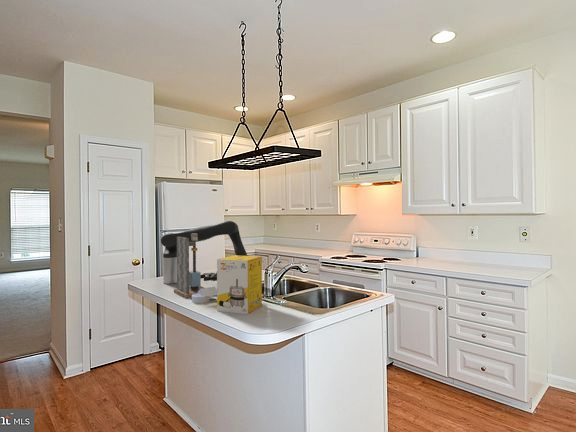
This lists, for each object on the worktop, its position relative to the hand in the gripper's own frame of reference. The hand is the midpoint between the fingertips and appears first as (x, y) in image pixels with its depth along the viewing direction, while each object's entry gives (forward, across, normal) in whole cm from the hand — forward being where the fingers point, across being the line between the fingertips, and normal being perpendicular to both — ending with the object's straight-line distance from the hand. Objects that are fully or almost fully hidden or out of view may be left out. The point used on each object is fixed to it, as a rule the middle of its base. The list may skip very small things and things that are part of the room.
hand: (200, 278), depth 211 cm
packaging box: (-1, +44, +9) cm, 45 cm away
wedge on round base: (+7, +19, +9) cm, 22 cm away
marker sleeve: (+4, 0, +4) cm, 6 cm away
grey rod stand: (+4, 0, +8) cm, 9 cm away
